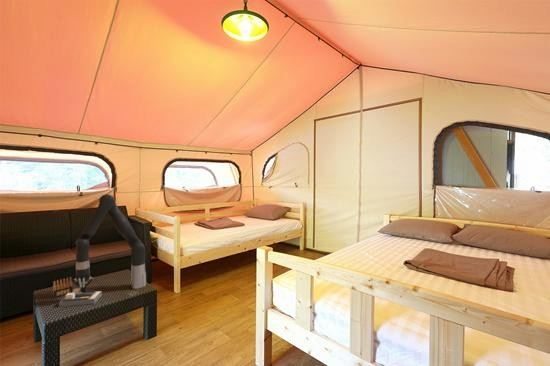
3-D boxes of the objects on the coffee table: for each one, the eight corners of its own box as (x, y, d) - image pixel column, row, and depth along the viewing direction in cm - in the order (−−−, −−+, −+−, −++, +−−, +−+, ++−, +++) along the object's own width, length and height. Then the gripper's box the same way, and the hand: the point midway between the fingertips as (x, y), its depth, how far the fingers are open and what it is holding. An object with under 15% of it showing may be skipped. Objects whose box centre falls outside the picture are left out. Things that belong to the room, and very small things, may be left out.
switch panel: (101, 295, 182) (101, 289, 182) (94, 303, 170) (94, 297, 170) (69, 297, 177) (68, 292, 177) (58, 306, 166) (58, 300, 165)
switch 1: (75, 297, 171) (74, 292, 171) (72, 299, 169) (72, 294, 168) (68, 298, 171) (67, 293, 170) (65, 300, 168) (65, 295, 167)
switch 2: (81, 293, 178) (81, 288, 177) (79, 295, 175) (79, 290, 175) (74, 293, 177) (74, 288, 176) (72, 295, 174) (72, 290, 174)
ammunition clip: (53, 298, 176) (52, 281, 176) (52, 297, 177) (52, 280, 177) (72, 293, 184) (72, 276, 184) (72, 292, 185) (71, 275, 185)
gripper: (96, 264, 181) (96, 288, 182) (74, 265, 178) (75, 290, 178) (91, 268, 173) (91, 293, 174) (68, 270, 170) (69, 295, 171)
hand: (83, 292), depth 176 cm, fingers closed
